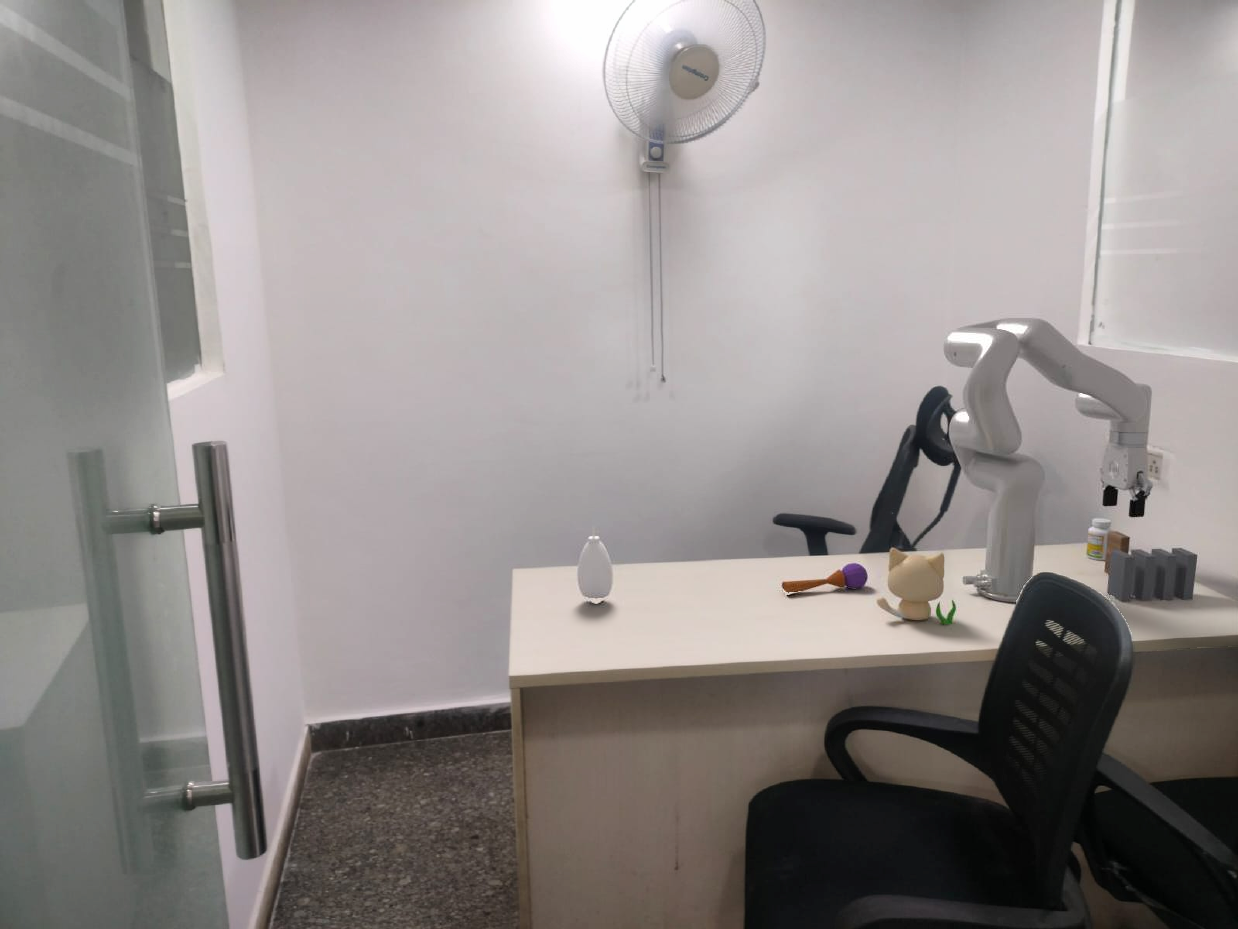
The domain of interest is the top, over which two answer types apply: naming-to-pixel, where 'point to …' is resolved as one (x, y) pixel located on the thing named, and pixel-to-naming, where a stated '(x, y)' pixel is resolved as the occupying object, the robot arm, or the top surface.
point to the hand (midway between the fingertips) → (1122, 511)
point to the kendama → (832, 579)
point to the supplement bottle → (1098, 539)
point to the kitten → (916, 585)
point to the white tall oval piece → (595, 569)
